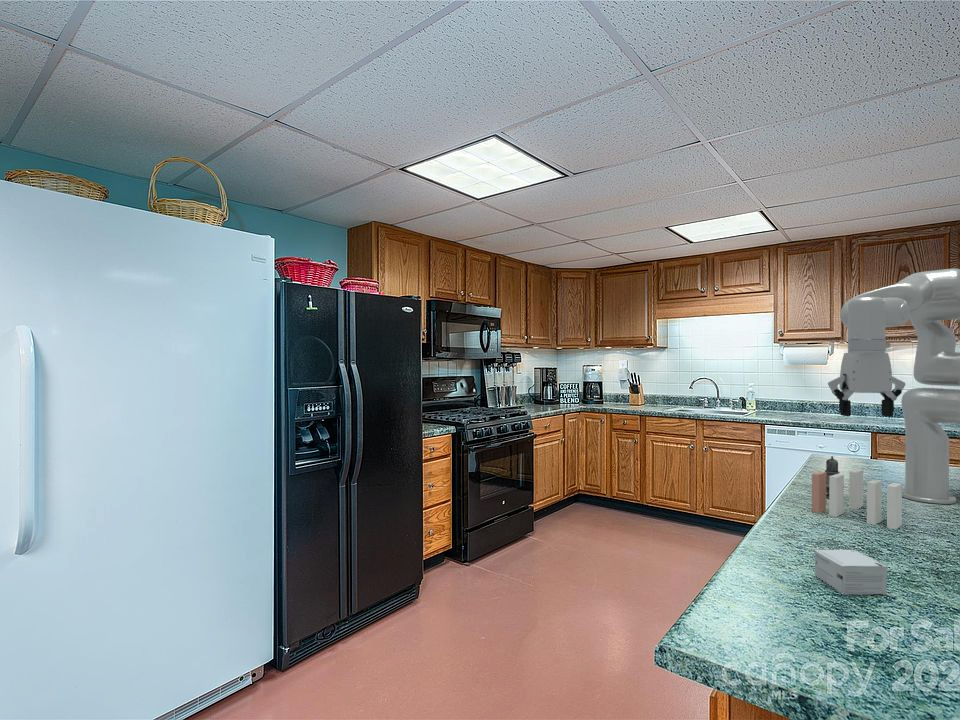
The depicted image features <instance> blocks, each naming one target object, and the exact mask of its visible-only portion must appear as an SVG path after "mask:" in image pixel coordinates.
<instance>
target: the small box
mask: <svg viewBox="0 0 960 720" xmlns="http://www.w3.org/2000/svg"><path fill="white" fill-rule="evenodd" d="M887 569H888V568H887V565H885V564H883V563H881V562H879V561H876V560H875V559H874V558H872V557H870V556H868V555H865V554H863V553H861V552H859V551H858V550H855V549H814V577H816V576H817V577H816V578H818V579H819V578H820V579H819V580H820V581H822V580H823V582H824V583H825V582H826V583H825V584H826V585H828V584H829V585H828V586H830V585H831V586H832V587H831V586H830V587H831V588H833V587H834V588H835V589H837V590H838V591H839V592H838V591H837V590H836V591H837V592H838V593H840V592H841V593H843V594H842V595H873V594H886V595H887V580H888V579H887ZM834 588H833V589H834ZM835 589H834V590H835ZM841 593H840V594H841Z"/></svg>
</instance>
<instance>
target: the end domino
mask: <svg viewBox="0 0 960 720" xmlns="http://www.w3.org/2000/svg"><path fill="white" fill-rule="evenodd" d="M826 494H827V493H826V472H825V471H821V470H820V471H816V472H813V473H811V513H814V514H820V513H823V512H825V511H827V498H826ZM824 510H825V511H824ZM822 511H823V512H822Z"/></svg>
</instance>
